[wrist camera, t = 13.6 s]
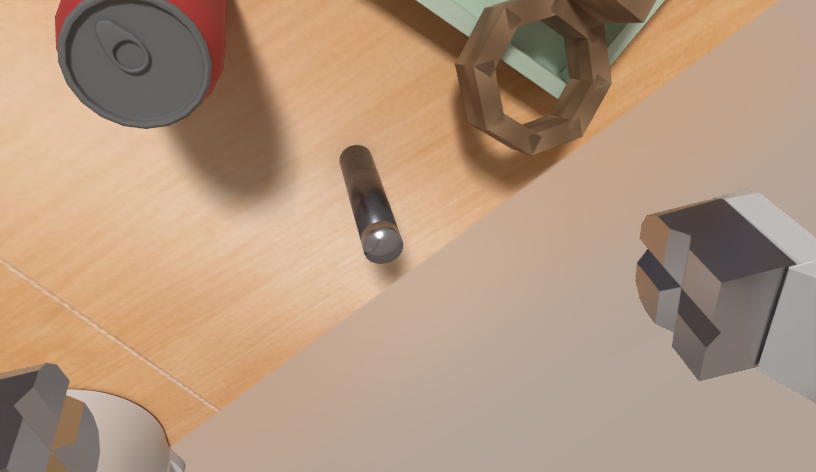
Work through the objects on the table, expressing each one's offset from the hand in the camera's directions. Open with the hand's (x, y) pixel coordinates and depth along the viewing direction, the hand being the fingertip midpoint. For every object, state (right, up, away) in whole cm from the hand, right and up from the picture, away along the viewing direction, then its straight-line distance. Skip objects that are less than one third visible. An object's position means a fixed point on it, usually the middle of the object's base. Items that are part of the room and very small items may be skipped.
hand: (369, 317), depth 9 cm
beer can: (-13, +15, +25) cm, 32 cm away
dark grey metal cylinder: (-3, +6, +34) cm, 35 cm away
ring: (+9, +13, +29) cm, 33 cm away
